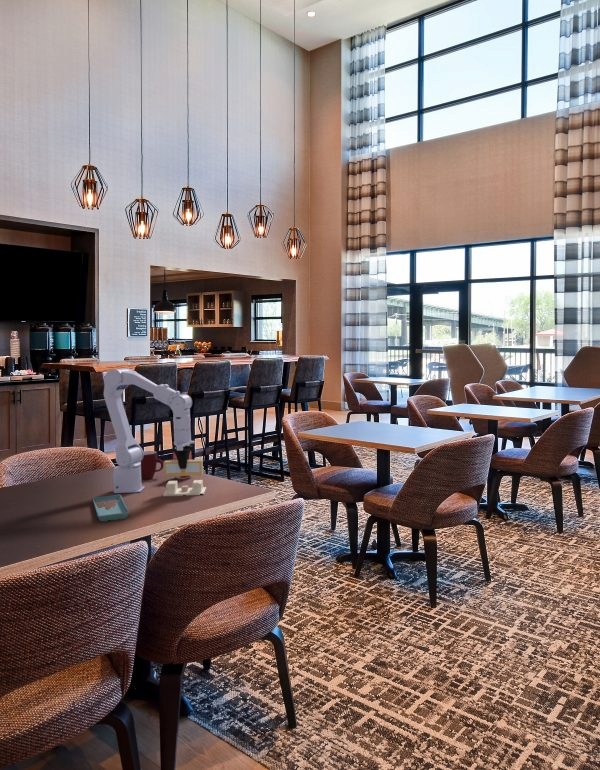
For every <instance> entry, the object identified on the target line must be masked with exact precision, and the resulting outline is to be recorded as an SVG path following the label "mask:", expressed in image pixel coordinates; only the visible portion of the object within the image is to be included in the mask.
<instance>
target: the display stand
mask: <svg viewBox="0 0 600 770" xmlns="http://www.w3.org/2000/svg"><path fill="white" fill-rule="evenodd" d="M165 489H166V490H165V491H164V492H163V494H162V497H182V496H183V495H186V496H201V495H200V494H204V495H205V493H206V491H207V487H206V486H204V480H203V479H194V480H193V482H192V484H191V487H189V485H185V484H184V485H182V486H181V487H179V486H178V480H168V482H167V483H166V484H165ZM205 490H206V491H205ZM204 492H205V493H204Z"/></svg>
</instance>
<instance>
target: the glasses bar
mask: <svg viewBox="0 0 600 770" xmlns="http://www.w3.org/2000/svg"><path fill="white" fill-rule="evenodd" d="M163 464H164V466H163V469H164V477H174V476H191V477H192V476H203V474H204V467H203V465H204V464H203V459H192V460H187V466H186V469H180V468H179V464H178V460H173V459H172V460H170V459H169V460H164V461H163Z"/></svg>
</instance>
